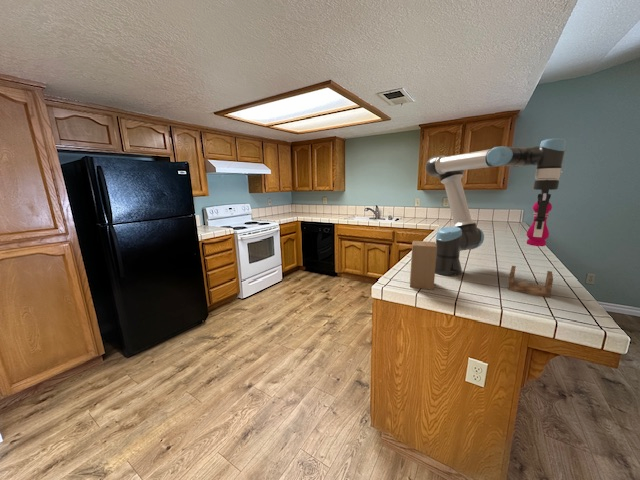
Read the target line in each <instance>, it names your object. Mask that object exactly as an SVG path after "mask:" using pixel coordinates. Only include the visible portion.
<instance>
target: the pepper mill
mask: <svg viewBox="0 0 640 480" xmlns="http://www.w3.org/2000/svg"><path fill="white" fill-rule="evenodd" d="M539 202H540V201H539ZM537 203H538V201H537V202H535V203H534V204H533V206H532V211H534V212H533V215H532V217H533V221H532V223H531V225H530V227H529V228H528V229H527V231H526V236H527V239H526V244H527V245H529V246H534V247H545V246H546V244H547V241H546V240H547V239H548V238H549V237H550V232H549V229H548V226H547V220H548V217H549V216H550V212H551V211H552V210H553V209H552V208H553V205H552V203H551V202H550V201H549V204H548V205H547V209H546V215H545V221H544V227H543V233H542V237H533V234H534V228H535V222H536V221H534V219H536V218H537V213H538V207H539V205H538V204H537Z"/></svg>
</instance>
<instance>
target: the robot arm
mask: <svg viewBox="0 0 640 480" xmlns="http://www.w3.org/2000/svg"><path fill="white" fill-rule="evenodd" d="M566 144H567V140H566V139H565V138H563V137H562V138H546V139H544V140H541V142H540V144H539V145H538V146H537V145H536V146H530V147H528V146H527V147H521V146H519V147H516V146H515V147H514V146H505V145H501V146H494V147H493V148H489V149H483V150H479V151H471V152H466V153H461V154H454V155H444V154H442V155H434V156H431V157H430V158H429V159H428V160H427V161H426V163H425V166H424V167H425V171H426V172H425V173H427V175H429V176H430V177H433V178H439V181H440V183H441V184H443V185H444V188H445V193H446V197H447V200H448V205H449V208H450V209H449V210H450V212H451V216H452V221H453V226H445V227H440V228H439V229H438V230H437V232H436V236H435V243H436V246H437V255H436V267H435V274H437V275H442V276H451V277H452V276H453V277H454V276H460V275H461V274H462V271H463V270H462V269H463V268H462V265H461V261H460V254H461V252H462V251H463V252H464V251H469V250H470V251H471V250H474V249H478V248H479V247H480V246H482V244H483V243H484V240H485V234H484V231H483V230H482V229H480V228H479V227H478V226H477V223H476V222H475V221H473V220H472V217H471V213H470V209H469V206H468V202H467V197H466V193H465V189H464V186H463V183H462V178H463V177H464V173H465V171H466V170H475V169H482V168H483V169H484V168H495V167H513V168H515V167H516V168H517V167H528V166H536V170H535V176H534V179H535V181H534V184H533V190H539V191H540V193H537V202H538V203H537V204H538V205H539V207H538V213H537V218H536V219H534V218H533V221H536V222H535V228H534V234H533V237H542V233H543V227H544V221H545V215H546V209H547V205H548V204H549V202H550V199H551V196H552V194H551V193H550V190H551V191H554V190H558V188H559V184H560V180H558V179H560V177H561V174H563V172H564V171H563V170H562V167H563V163H564V162H563V161H564V155H565V152H566ZM539 201H540V202H539Z"/></svg>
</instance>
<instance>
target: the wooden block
mask: <svg viewBox="0 0 640 480" xmlns="http://www.w3.org/2000/svg"><path fill="white" fill-rule="evenodd" d="M436 255H437V246H436V241H425V240H421V241H420V240H413V241H412V244H411V260H410V276H409V287H410V288H415V289H424V290H431V291H432V290H434V287H435V279H436V276H435V275H436V273H435V267H436Z"/></svg>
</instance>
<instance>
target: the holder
mask: <svg viewBox="0 0 640 480" xmlns="http://www.w3.org/2000/svg"><path fill="white" fill-rule="evenodd" d="M516 268H517V267H516V265H511V268H510V271H509V272H510V273H509V279H508V286H507V290H510V291H514V292H519V293H524V294H528V295H529V294H530V295H534V296H540V297H543V298H544V297H545V298H551V297H550V296H551V293H552V287H553V283H554V277H553V276H554V275H553V271H550V270H547V272H546V277H545V278H546V279H545V284H544V285H541V284H536V283H531V282H526V281H519V280H515V275H516V274H515V273H516Z"/></svg>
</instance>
